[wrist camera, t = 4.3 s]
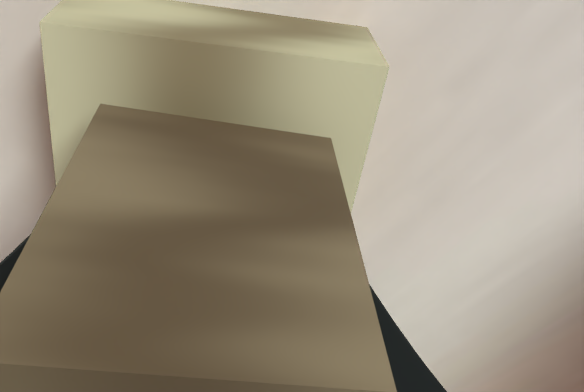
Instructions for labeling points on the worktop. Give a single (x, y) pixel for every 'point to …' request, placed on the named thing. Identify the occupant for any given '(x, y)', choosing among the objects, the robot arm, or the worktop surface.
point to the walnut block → (192, 267)
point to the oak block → (212, 72)
